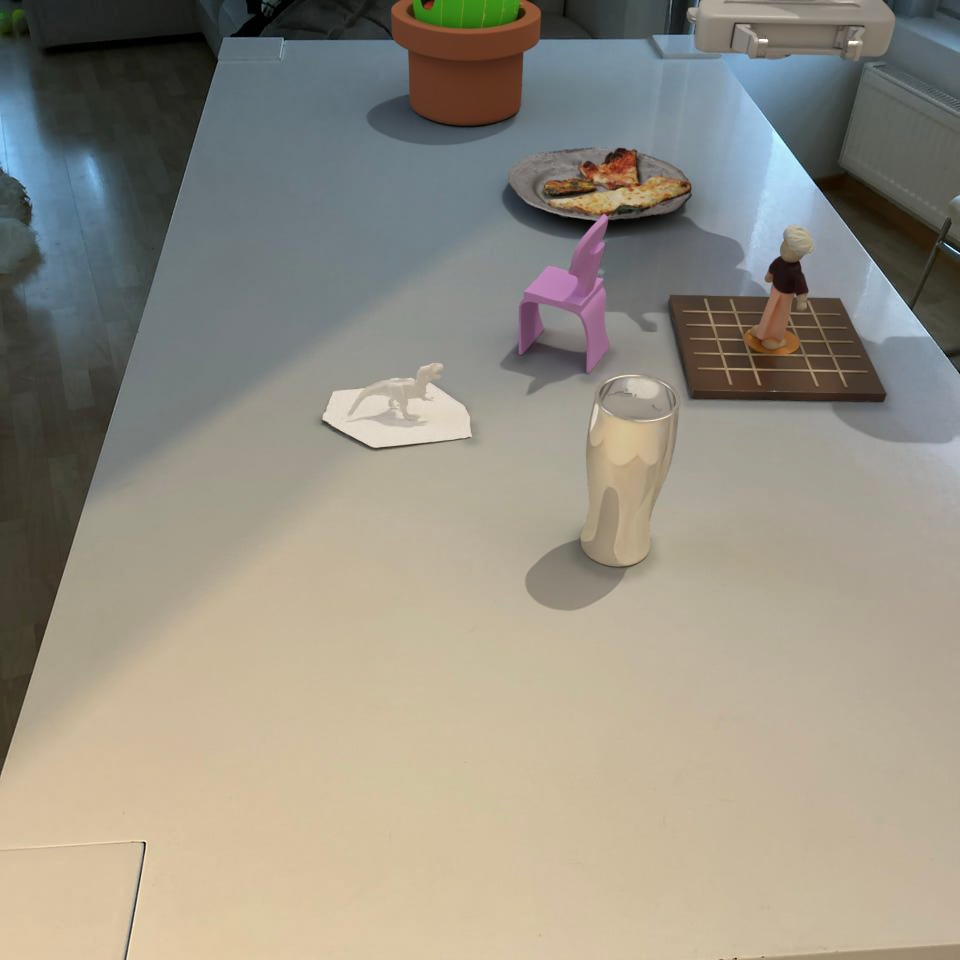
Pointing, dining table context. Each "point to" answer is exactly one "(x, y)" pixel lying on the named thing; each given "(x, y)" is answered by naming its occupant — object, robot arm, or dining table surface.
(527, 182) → the food plate
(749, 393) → the game board
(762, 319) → the grandmother figurine
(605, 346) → the toy chair
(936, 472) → the dining table surface
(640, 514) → the beer glass
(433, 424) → the dinosaur figurine
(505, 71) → the potted cactus
